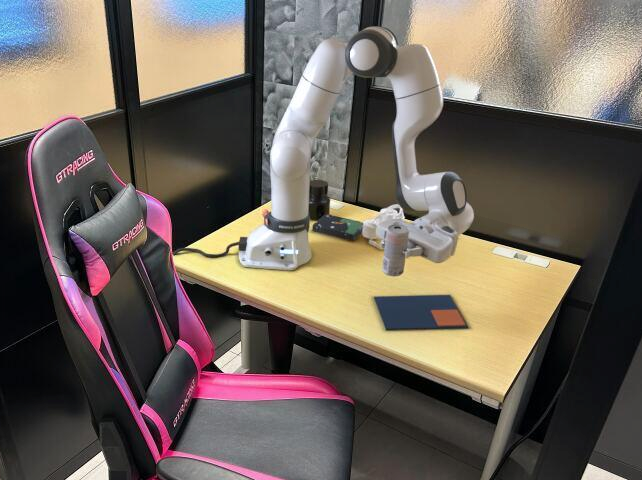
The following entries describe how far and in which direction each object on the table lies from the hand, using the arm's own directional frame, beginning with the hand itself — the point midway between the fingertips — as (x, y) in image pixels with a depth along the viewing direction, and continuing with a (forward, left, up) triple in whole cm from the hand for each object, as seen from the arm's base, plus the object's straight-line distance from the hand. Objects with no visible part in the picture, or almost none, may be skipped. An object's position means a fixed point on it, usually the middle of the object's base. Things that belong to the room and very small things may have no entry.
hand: (393, 249), depth 145 cm
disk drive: (-5, +49, -19) cm, 52 cm away
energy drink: (+1, +1, -7) cm, 7 cm away
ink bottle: (-11, +61, -19) cm, 64 cm away
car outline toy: (+10, +45, -19) cm, 50 cm away
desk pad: (+9, 0, -19) cm, 21 cm away
